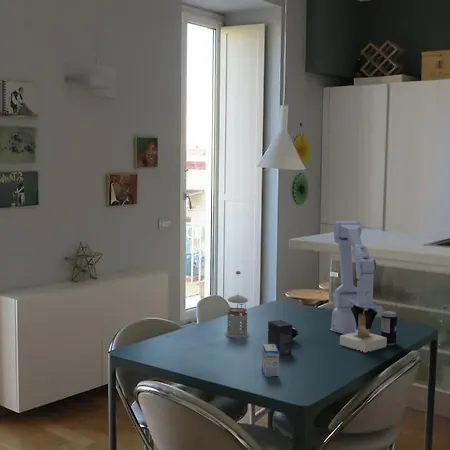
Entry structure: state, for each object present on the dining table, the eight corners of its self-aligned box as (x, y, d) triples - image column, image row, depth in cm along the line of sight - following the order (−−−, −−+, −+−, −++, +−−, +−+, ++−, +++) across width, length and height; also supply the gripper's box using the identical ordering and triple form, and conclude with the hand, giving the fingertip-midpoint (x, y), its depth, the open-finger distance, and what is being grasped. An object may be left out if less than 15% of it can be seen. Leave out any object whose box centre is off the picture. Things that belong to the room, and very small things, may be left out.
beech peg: (355, 335, 259) (356, 314, 258) (363, 333, 261) (363, 312, 260) (363, 337, 256) (364, 316, 255) (371, 336, 258) (371, 314, 257)
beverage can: (396, 346, 259) (397, 314, 258) (380, 345, 260) (381, 313, 259) (396, 342, 264) (397, 311, 263) (380, 341, 266) (381, 310, 264)
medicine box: (261, 369, 230) (262, 343, 229) (274, 369, 231) (275, 343, 230) (264, 377, 222) (265, 350, 221) (278, 377, 223) (279, 350, 222)
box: (291, 353, 248) (292, 324, 247) (278, 355, 246) (278, 325, 245) (280, 347, 255) (281, 319, 254) (267, 349, 253) (267, 320, 252)
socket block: (339, 344, 260) (340, 335, 260) (361, 339, 267) (361, 330, 267) (364, 352, 251) (365, 342, 250) (386, 346, 258) (386, 337, 258)
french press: (220, 335, 270) (221, 271, 267) (231, 328, 281) (232, 267, 278) (244, 338, 266) (245, 274, 263) (254, 331, 277) (256, 269, 274)
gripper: (342, 289, 260) (341, 325, 261) (373, 296, 249) (372, 333, 250) (355, 287, 264) (354, 322, 266) (386, 293, 253) (384, 330, 255)
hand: (363, 327), depth 258 cm, fingers closed on beech peg, 4 cm apart
